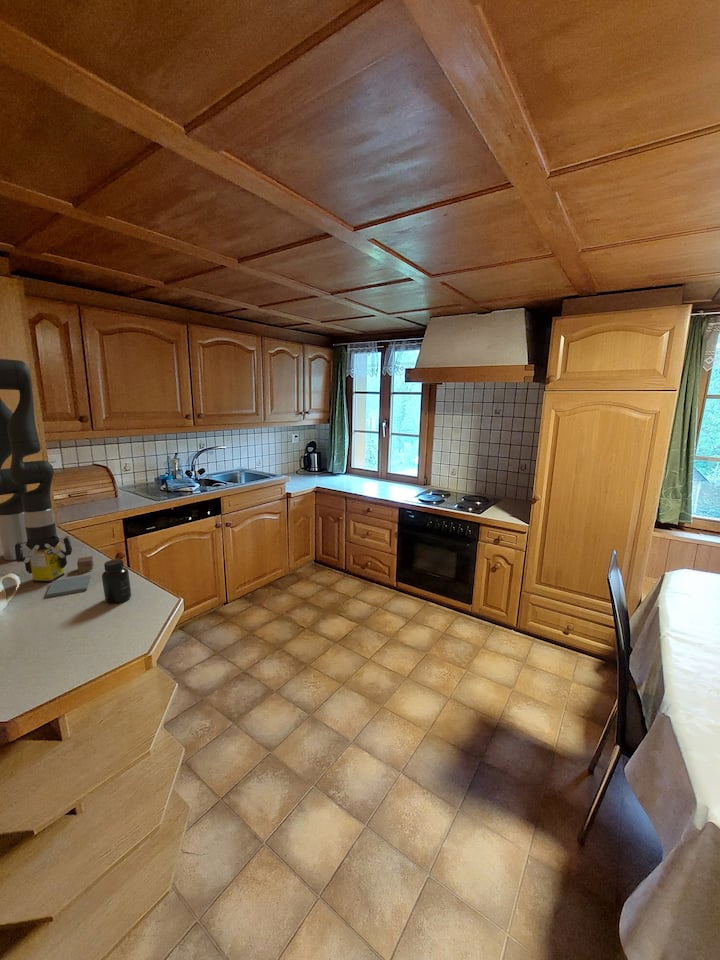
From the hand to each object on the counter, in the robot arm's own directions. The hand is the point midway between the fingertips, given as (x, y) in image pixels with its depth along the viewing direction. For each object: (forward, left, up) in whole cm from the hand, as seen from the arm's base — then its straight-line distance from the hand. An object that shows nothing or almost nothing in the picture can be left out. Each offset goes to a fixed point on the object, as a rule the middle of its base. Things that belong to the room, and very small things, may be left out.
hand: (47, 569), depth 128 cm
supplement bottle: (+25, +21, -3) cm, 33 cm away
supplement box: (0, 0, -3) cm, 3 cm away
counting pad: (+10, +7, -3) cm, 12 cm away
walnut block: (-3, +10, -3) cm, 11 cm away
